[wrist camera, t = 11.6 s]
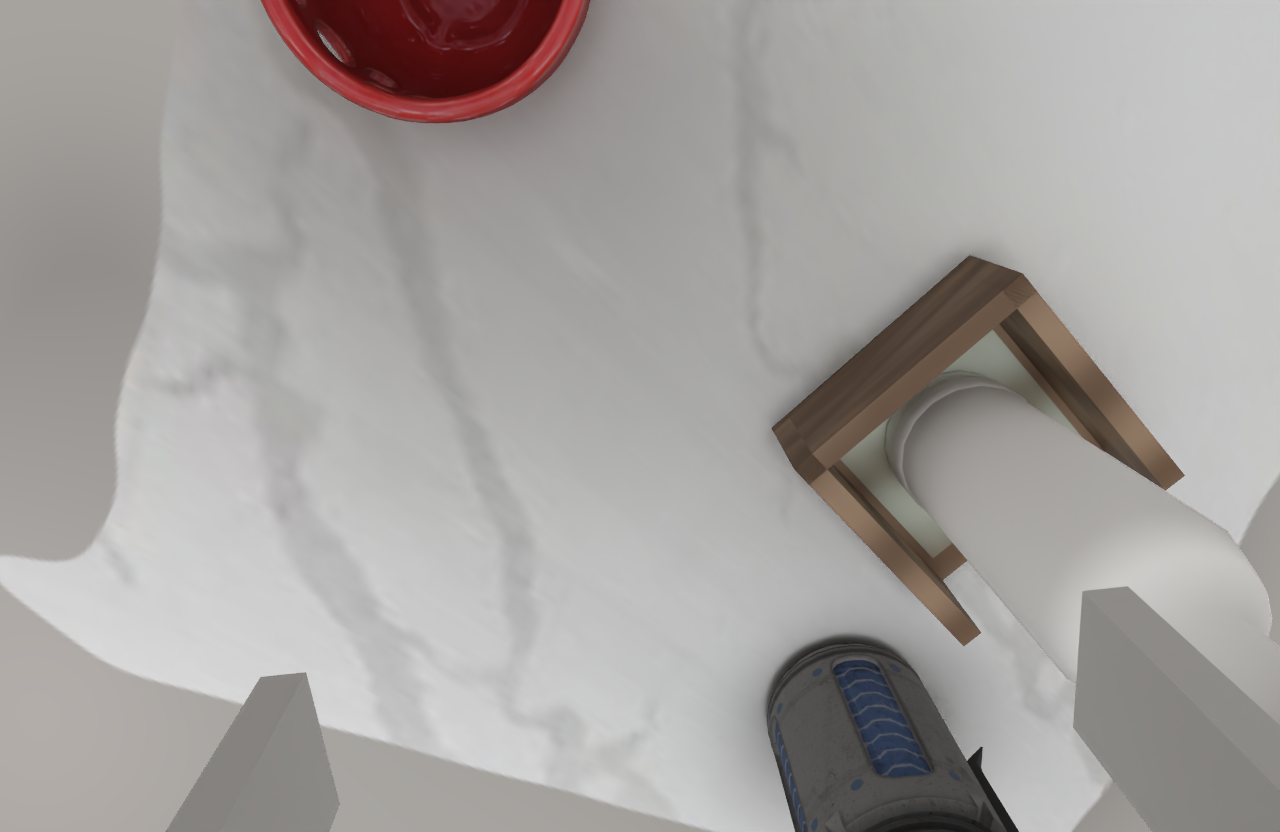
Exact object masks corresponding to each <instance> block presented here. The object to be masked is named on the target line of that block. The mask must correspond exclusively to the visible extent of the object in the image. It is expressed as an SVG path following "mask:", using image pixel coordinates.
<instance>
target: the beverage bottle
mask: <svg viewBox="0 0 1280 832" xmlns="http://www.w3.org/2000/svg"><path fill="white" fill-rule="evenodd" d="M767 726H768V734H769V738H770V741H771V745H772V748H773V752H774V755H775V758H776V761H777V765H778V769H779V772H780V776H781V780H782V784H783V787H784V791H785V795H786V799H787V802H788V806H789V810H790V814H791V817H792V821H793V825H794V829H795V832H1019V831H1018V829H1017V828H1016V826H1015V825H1014V823H1013V821H1012V820H1011V818H1010V816H1009V815H1008V813H1007V811H1006V810H1005V808H1004V807H1003V805H1002V803H1001V802H1000V800H999V798H998V797H997V795H996V793H995V792H994V790H993V789H992V787H991V785H990V784H989V782H988V780H987V779H986V777H985V776H984V774H983V772H982V769H981V762H982V748H983V747H980V748H979V749H978V750H977V751H976V752H975V753H974V754H973V755H972V756H971V757H970V758H969V760H968V761H966V759H965V757H964V756H963V754H962V752H961V750H960V749H959V747H958V745H957V743H956V741H955V740H954V738H953V736H952V734H951V733H950V731H949V729H948V727H947V726H946V724H945V722H944V720H943V719H942V717H941V715H940V713H939V712H938V710H937V708H936V706H935V705H934V703H933V701H932V699H931V697H930V696H929V694H928V692H927V690H926V689H925V687H924V685H923V683H922V682H921V680H920V678H919V677H918V675H917V673H916V672H915V671H914V670H913V669H912V668H911V667H910V666H909V665H908V663H907V662H905V661H904V660H902V659H901V658H899V657H898V656H896V655H895V654H893V653H890V652H888V651H885V650H883V649H881V648H877V647H873V646H869V645H864V644H857V643H848V644H847V645H843V644H836V645H830V646H827V647H824V648H821V649H818V650H816V651H814V652H812V653H810V654H808V655H806V656H804V657H803V658H802V659H800V660H799V661H798V662H796V663H795V665H794V667H792V668H790V669H789V670H788V671H787V672H786V674H785V675H784V676H783V678H782V679H781V681H780V682H779V684H778V686H777V688H776V689H775V691H774V693H773V695H772V698H771V701H770V704H769V707H768V715H767Z"/></svg>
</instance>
